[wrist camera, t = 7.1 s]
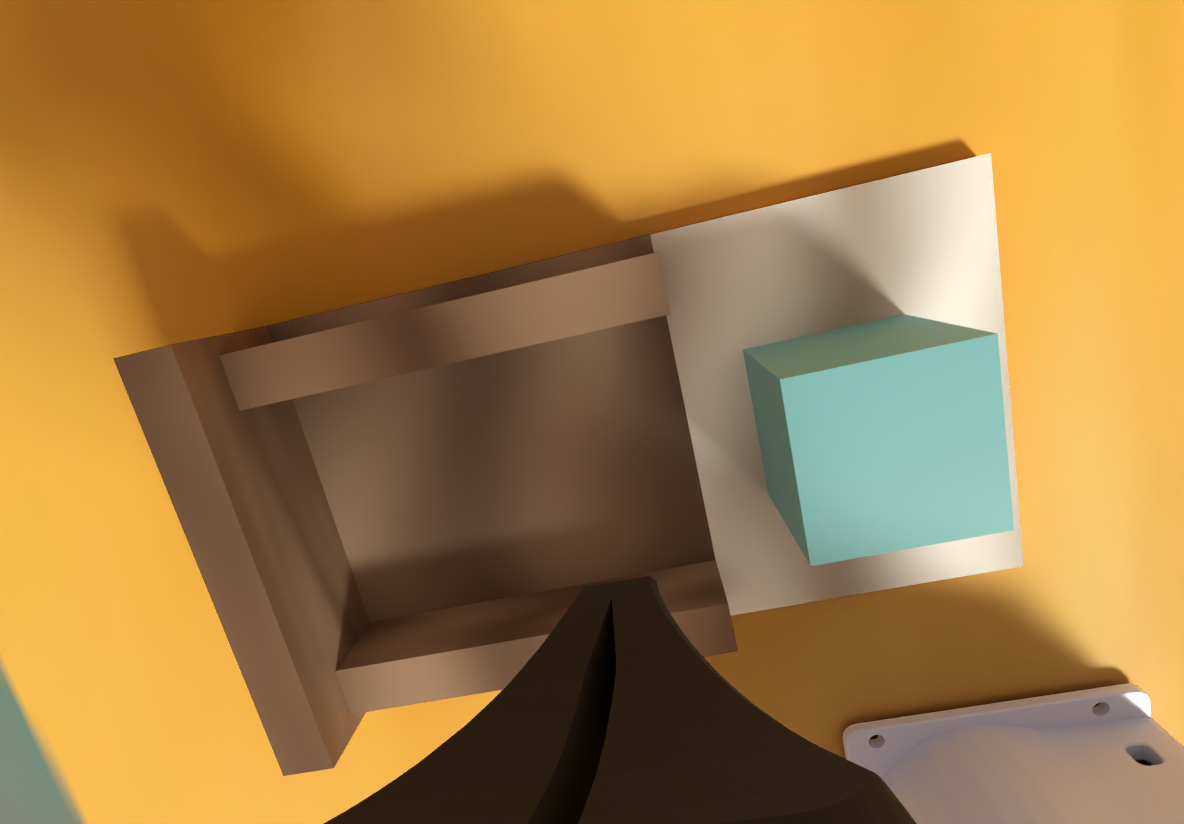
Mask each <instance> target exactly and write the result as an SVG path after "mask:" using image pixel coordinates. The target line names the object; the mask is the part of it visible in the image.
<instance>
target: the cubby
mask: <svg viewBox="0 0 1184 824" xmlns="http://www.w3.org/2000/svg"><path fill="white" fill-rule="evenodd" d="M904 314H906V315H911V316H916V317H921V318H925V319H930V320H935V321H940V322H944V323H949V324H954V325H959V326H964V327H968V328H973V329H978V330H983V331H988V332H992V333H997V334H998V343H999V355H1000V367H1001V379H1002V391H1003V403H1004V415H1005V428H1006V440H1007V452H1008V464H1009V476H1010V488H1011V500H1012V512H1013V524H1014V530H1012V531H1006V532H1001V533H995V534H990V535H984V536H978V537H973V538H967V539H961V540H956V541H950V542H944V543H939V544H933V545H928V546H922V547H916V548H911V549H905V550H899V551H894V552H888V553H883V554H877V555H871V556H866V557H860V558H854V559H849V560H843V561H837V562H832V563H826V564H821V565H815V566H810V564H809V563H808V561H807V559H806V558H805V556H804V554H803V552H802V551H801V549H800V547H799V546H798V544H797V542H796V541H795V539H794V537H793V535H792V534H791V532H790V530H789V529H788V527H787V525H786V524H785V522H784V520H783V518H782V517H781V515H780V513H779V512H778V510H777V508H776V507H775V505H774V503H773V501H772V500H771V498H770V496H769V495H768V489H767V484H766V478H765V472H764V467H763V461H762V455H761V450H760V444H759V438H758V433H757V427H756V421H755V416H754V410H753V404H752V399H751V393H750V388H749V382H748V376H747V371H746V365H745V359H744V354H743V349H747V348H752V347H756V346H761V345H765V344H770V343H775V342H779V341H784V340H788V339H793V338H798V337H802V336H807V335H811V334H816V333H821V332H825V331H830V330H834V329H839V328H844V327H848V326H853V325H858V324H862V323H867V322H871V321H876V320H881V319H885V318H890V317H894V316H899V315H904ZM113 359H114V361H115V363H116V366H117V368H118V371H119V373H120V376H121V378H122V381H123V383H124V386H125V388H126V390H127V393H128V395H129V398H130V400H131V403H132V405H133V408H134V410H135V413H136V415H137V417H138V420H139V422H140V425H141V427H142V430H143V432H144V435H145V437H146V440H147V442H148V444H149V447H150V449H151V452H152V454H153V457H154V459H155V462H156V464H157V467H158V469H159V471H160V474H161V476H162V479H163V481H164V484H165V486H166V489H167V491H168V494H169V496H170V498H171V501H172V503H173V506H174V508H175V511H176V513H177V516H178V518H179V520H180V523H181V525H182V528H183V530H184V533H185V535H186V538H187V540H188V543H189V545H190V547H191V550H192V552H193V555H194V557H195V560H196V562H197V565H198V567H199V570H200V572H201V574H202V577H203V579H204V582H205V584H206V587H207V589H208V592H209V594H210V597H211V599H212V601H213V604H214V606H215V609H216V611H217V614H218V616H219V619H220V621H221V624H222V626H223V628H224V631H225V633H226V636H227V638H228V641H229V643H230V646H231V648H232V651H233V653H234V655H235V658H236V660H237V663H238V665H239V668H240V670H241V673H242V675H243V678H244V680H245V682H246V685H247V687H248V690H249V692H250V695H251V697H252V700H253V702H254V704H255V707H256V709H257V712H258V714H259V717H260V719H261V722H262V724H263V727H264V729H265V731H266V734H267V736H268V739H269V741H270V744H271V746H272V749H273V751H274V754H275V756H276V758H277V761H278V763H279V766H280V768H281V771H282V773H283V776H286V775H292V774H299V773H305V772H312V771H318V770H325V769H331V768H334V767H335V765H336V763H337V761H338V760H339V758H340V756H341V754H342V753H343V751H344V749H345V747H346V746H347V744H348V742H349V741H350V739H351V737H352V735H353V734H354V732H355V730H356V728H357V727H358V725H359V723H360V721H361V720H362V718H363V716H364V715H365V713H366V712H368V711H374V710H380V709H387V708H393V707H399V706H405V705H411V704H417V703H423V702H429V701H435V700H441V699H448V698H454V697H460V696H466V695H472V694H478V693H484V692H490V691H496V690H502V689H504V688H505V687H506V686H507V685H508V684H509V683H510V682H511V681H512V679H513V678H514V677H515V676H516V675H517V674H518V672H519V671H520V670H521V669H522V668H523V667H524V665H525V664H526V663H527V662H528V661H529V659H530V658H531V657H532V656H533V655H534V654H535V652H536V651H537V650H538V649H539V648H540V646H541V645H542V644H543V642H544V641H545V640H546V638H547V637H548V636H549V634H550V633H551V632H552V630H553V629H554V628H555V626H556V625H557V624H558V622H559V621H560V619H561V618H562V617H563V615H564V614H565V612H566V611H567V610H568V608H569V607H570V605H571V604H572V603H573V601H574V600H575V598H576V597H577V596H578V594H579V593H580V592H581V590H582V589H583V588H584V587H587V586H592V585H598V584H604V583H610V582H616V581H622V580H628V579H634V578H639V577H645V576H651V577H652V578H654V579H655V580H656V581H657V584H658V589H659V593H660V595H661V598H662V600H663V602H664V603H665V605H666V607H667V609H668V611H669V612H670V614H671V615H672V617H673V619H674V620H675V621H676V623H677V624H678V626H679V627H680V629H681V630H682V631H683V633H684V634H685V636H686V637H687V638H688V639H689V641H690V642H691V643H692V645H693V646H694V647H695V648H696V649H697V650H698V652H699V653H700V654H701V655H702V656H703V657H704V656H710V655H716V654H722V653H728V652H734V651H737V646H736V641H735V636H734V631H733V626H732V621H731V616H733V615H739V614H745V613H751V612H756V611H762V610H768V609H774V608H780V607H786V606H792V605H798V604H804V603H809V602H815V601H821V600H827V599H833V598H839V597H845V596H851V595H856V594H862V593H868V592H874V591H880V590H886V589H892V588H898V587H903V586H909V585H915V584H921V583H927V582H933V581H939V580H945V579H950V578H956V577H962V576H968V575H974V574H980V573H986V572H992V571H998V570H1003V569H1009V568H1015V567H1021V566H1023V555H1022V542H1021V529H1020V517H1019V504H1018V491H1017V479H1016V466H1015V453H1014V441H1013V428H1012V415H1011V403H1010V390H1009V377H1008V365H1007V352H1006V339H1005V326H1004V314H1003V301H1002V288H1001V276H1000V263H999V250H998V238H997V225H996V212H995V200H994V187H993V174H992V162H991V153H989V154H985V155H981V156H977V157H972V158H968V159H964V160H960V161H956V162H951V163H947V164H943V165H939V166H935V167H931V168H926V169H922V170H918V171H914V172H910V173H905V174H901V175H897V176H893V177H889V178H885V179H880V180H876V181H872V182H868V183H864V184H859V185H855V186H851V187H847V188H843V189H839V190H834V191H830V192H826V193H822V194H818V195H813V196H809V197H805V198H801V199H797V200H793V201H788V202H784V203H780V204H776V205H772V206H767V207H763V208H759V209H755V210H751V211H747V212H742V213H738V214H734V215H730V216H726V217H721V218H717V219H713V220H709V221H705V222H701V223H696V224H692V225H688V226H684V227H680V228H675V229H671V230H667V231H663V232H659V233H655V234H650V235H646V236H642V237H638V238H634V239H629V240H625V241H621V242H617V243H613V244H609V245H604V246H600V247H596V248H592V249H588V250H583V251H579V252H575V253H571V254H567V255H563V256H558V257H554V258H550V259H546V260H542V261H537V262H533V263H529V264H525V265H521V266H517V267H512V268H508V269H504V270H500V271H496V272H491V273H487V274H483V275H479V276H475V277H471V278H466V279H462V280H458V281H454V282H450V283H445V284H441V285H437V286H433V287H429V288H425V289H420V290H416V291H412V292H408V293H404V294H399V295H395V296H391V297H387V298H383V299H379V300H374V301H370V302H366V303H362V304H358V305H353V306H349V307H345V308H341V309H337V310H333V311H328V312H324V313H320V314H316V315H312V316H307V317H303V318H299V319H295V320H291V321H287V322H282V323H278V324H274V325H270V326H265V327H260V328H255V329H250V330H245V331H239V332H234V333H229V334H224V335H219V336H213V337H208V338H203V339H198V340H193V341H187V342H182V343H177V344H172V345H168V346H163V347H159V348H155V349H151V350H147V351H143V352H138V353H134V354H130V355H126V356H122V357H118V358H113Z"/></svg>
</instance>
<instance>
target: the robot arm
mask: <svg viewBox="0 0 1184 824" xmlns="http://www.w3.org/2000/svg"><path fill="white" fill-rule="evenodd" d="M1097 703H1100V704H1099V705H1098V706H1096V707H1094V706H1095V705H1096V704H1097ZM874 735H879V737H878V738H876V739H870V738H871V737H872V736H874ZM843 744H844V751H845V757H846V759H844V758H842V757H840V756H838V755H836V754H834V753H831V752H829V751H827V750H825V749H823V748H821V747H819V746H817V745H815V744H813V743H811V742H809V741H808V740H806V739H804V738H803V737H801V736H799V735H797V734H796V733H794V732H792V731H791V730H789V729H788V728H786V727H785V726H783V725H782V724H781V723H779V722H778V721H776V720H775V719H773V718H772V717H771V716H769V715H768V714H766V713H765V712H764V711H762V710H761V709H759V708H758V707H756V706H755V705H754V704H753V703H751V702H750V701H749V700H748V699H747V698H745V697H744V696H743V695H742V694H741V693H739V692H738V691H737V690H736V689H735V688H734V687H733V686H731V685H730V684H729V683H728V682H727V681H726V680H725V679H724V678H723V677H722V676H721V675H720V674H719V673H718V672H717V671H716V670H715V669H714V668H713V667H712V666H711V665H710V664H709V663H708V662H707V661H706V660H705V659H704V657H703V656H702V655H701V654H700V653H699V652H698V650H697V649H696V648H695V647H694V646H693V645H692V643H691V642H690V641H689V639H688V638H687V637H686V636H685V634H684V633H683V631H682V630H681V629H680V627H679V626H678V624H677V623H676V621H675V620H674V619H673V617H672V615H671V614H670V612H669V611H668V609H667V607H666V605H665V603H664V602H663V600H662V598H661V595H660V593H659V589H658V584H657V581H656V580H655V579H654V578H652V577H651V576H645V577H639V578H634V579H628V580H622V581H616V582H610V583H604V584H598V585H592V586H587V587H584V588H583V589H582V590H581V592H580V593H579V594H578V596H577V597H576V598H575V600H574V601H573V603H572V604H571V605H570V607H569V608H568V610H567V611H566V612H565V614H564V615H563V617H562V618H561V619H560V621H559V622H558V624H557V625H556V626H555V628H554V629H553V630H552V632H551V633H550V634H549V636H548V637H547V638H546V640H545V641H544V642H543V644H542V645H541V646H540V648H539V649H538V650H537V651H536V652H535V654H534V655H533V656H532V657H531V658H530V659H529V661H528V662H527V663H526V664H525V665H524V667H523V668H522V669H521V670H520V671H519V672H518V674H517V675H516V676H515V677H514V678H513V679H512V681H511V682H510V683H509V684H508V685H507V686H506V687H505V688H504V689H503V690H502V691H501V692H500V693H499V694H498V695H497V696H496V697H495V698H494V699H493V700H492V701H491V702H490V703H489V704H488V705H487V706H486V707H485V708H484V709H483V710H482V711H481V712H480V713H479V714H477V715H476V716H475V717H474V718H473V719H472V720H471V721H470V722H469V723H468V724H467V725H465V726H464V727H463V728H462V729H461V730H459V731H458V732H457V733H456V734H454V735H453V736H452V737H451V738H449V739H448V740H447V741H446V742H444V743H443V744H442V745H441V746H439V747H438V748H437V749H436V750H434V751H433V752H432V753H431V754H429V755H428V756H427V757H426V758H424V759H423V760H422V761H421V762H419V763H418V764H417V765H415V766H414V767H412V768H411V769H409V770H408V771H407V772H405V773H404V774H402V775H401V776H400V777H398V778H397V779H395V780H394V781H392V782H391V783H389V784H388V785H386V786H385V787H383V788H382V789H380V790H379V791H377V792H376V793H374V794H373V795H371V796H369V797H368V798H366V799H365V800H363V801H362V802H360V803H358V804H357V805H355V806H353V807H352V808H350V809H349V810H347V811H345V812H344V813H342V814H340V815H338V816H336V817H335V818H333V819H331V820H329V821H327V822H326V823H324V824H1184V746H1183V745H1182V744H1181V743H1179V742H1178V741H1177V740H1176V739H1175V738H1174V737H1173V736H1171V735H1170V734H1169V733H1168V732H1167V731H1166V730H1165V729H1163V728H1162V727H1161V726H1160V725H1159V724H1158V723H1157V722H1156V721H1154V720H1153V719H1152V718H1151V707H1150V698H1149V696H1148V695H1147V694H1146V693H1145V692H1144V691H1143V690H1142V689H1141V688H1140V687H1138V686H1137V685H1134V684H1120V685H1113V686H1106V687H1100V688H1093V689H1086V690H1079V691H1073V692H1066V693H1059V694H1052V695H1046V696H1039V697H1032V698H1025V699H1019V700H1012V701H1005V702H998V703H992V704H985V705H978V706H972V707H965V708H958V709H951V710H945V711H938V712H931V713H924V714H918V715H911V716H904V717H897V718H891V719H884V720H877V721H870V722H864V723H857V724H853V725H850V726H849V727H847V728H846V729H845V731H844V732H843Z"/></svg>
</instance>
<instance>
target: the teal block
mask: <svg viewBox="0 0 1184 824" xmlns="http://www.w3.org/2000/svg"><path fill="white" fill-rule="evenodd" d="M743 354H744V359H745V365H746V371H747V376H748V382H749V388H750V393H751V399H752V404H753V410H754V416H755V421H756V427H757V433H758V438H759V444H760V450H761V455H762V461H763V467H764V472H765V478H766V484H767V489H768V495H769V496H770V498H771V500H772V501H773V503H774V505H775V507H776V508H777V510H778V512H779V513H780V515H781V517H782V518H783V520H784V522H785V524H786V525H787V527H788V529H789V530H790V532H791V534H792V535H793V537H794V539H795V541H796V542H797V544H798V546H799V547H800V549H801V551H802V552H803V554H804V556H805V558H806V559H807V561H808V563H809V564H810V566H815V565H821V564H826V563H832V562H837V561H843V560H849V559H854V558H860V557H866V556H871V555H877V554H883V553H888V552H894V551H899V550H905V549H911V548H916V547H922V546H928V545H933V544H939V543H944V542H950V541H956V540H961V539H967V538H973V537H978V536H984V535H990V534H995V533H1001V532H1006V531H1012V530H1014V524H1013V512H1012V500H1011V488H1010V476H1009V464H1008V452H1007V440H1006V428H1005V415H1004V403H1003V391H1002V379H1001V367H1000V355H999V343H998V334H997V333H992V332H988V331H983V330H978V329H973V328H968V327H964V326H959V325H954V324H949V323H944V322H940V321H935V320H930V319H925V318H921V317H916V316H911V315H906V314H904V315H899V316H894V317H890V318H885V319H881V320H876V321H871V322H867V323H862V324H858V325H853V326H848V327H844V328H839V329H834V330H830V331H825V332H821V333H816V334H811V335H807V336H802V337H798V338H793V339H788V340H784V341H779V342H775V343H770V344H765V345H761V346H756V347H752V348H747V349H743Z"/></svg>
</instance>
